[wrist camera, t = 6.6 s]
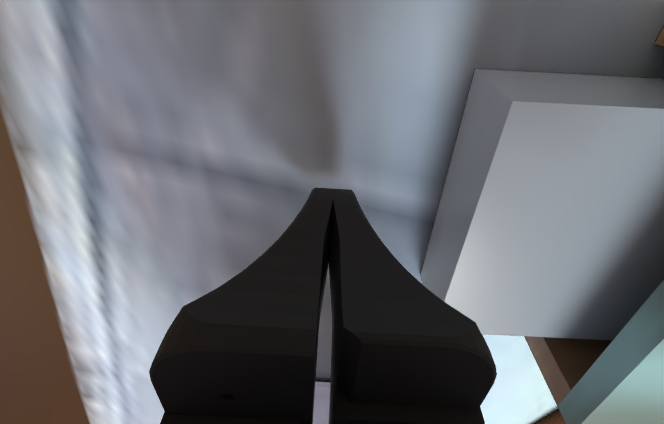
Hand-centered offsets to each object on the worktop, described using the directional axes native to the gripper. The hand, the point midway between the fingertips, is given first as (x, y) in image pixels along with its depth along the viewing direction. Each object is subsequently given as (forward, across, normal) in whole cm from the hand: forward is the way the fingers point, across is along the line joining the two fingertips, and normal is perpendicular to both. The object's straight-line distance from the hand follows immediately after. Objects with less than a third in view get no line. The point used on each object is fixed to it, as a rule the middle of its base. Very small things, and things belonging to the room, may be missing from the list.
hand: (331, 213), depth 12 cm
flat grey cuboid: (+2, -11, 0) cm, 11 cm away
